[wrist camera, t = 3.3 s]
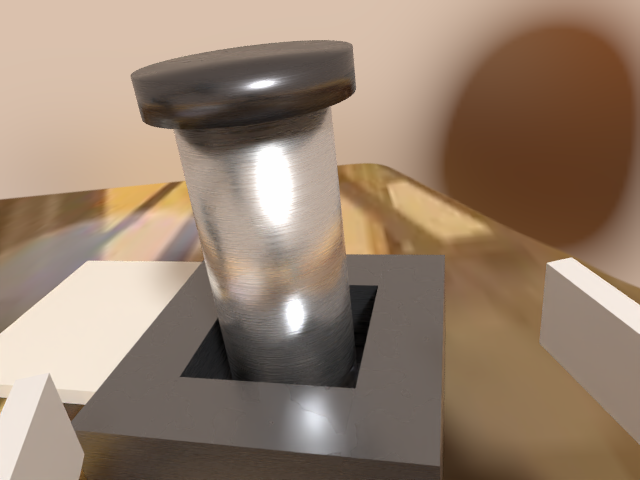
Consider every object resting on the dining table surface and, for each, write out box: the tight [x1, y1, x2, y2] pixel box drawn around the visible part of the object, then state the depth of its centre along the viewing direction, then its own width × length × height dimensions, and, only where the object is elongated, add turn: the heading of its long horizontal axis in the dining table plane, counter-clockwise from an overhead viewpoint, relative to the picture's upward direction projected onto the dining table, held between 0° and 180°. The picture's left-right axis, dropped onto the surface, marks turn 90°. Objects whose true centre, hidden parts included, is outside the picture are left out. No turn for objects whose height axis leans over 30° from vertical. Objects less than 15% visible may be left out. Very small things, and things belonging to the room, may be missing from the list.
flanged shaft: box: [131, 40, 358, 388], centre depth 23 cm, size 8×8×16 cm
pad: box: [0, 261, 202, 405], centre depth 35 cm, size 14×14×1 cm
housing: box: [71, 255, 445, 480], centre depth 26 cm, size 14×14×5 cm
